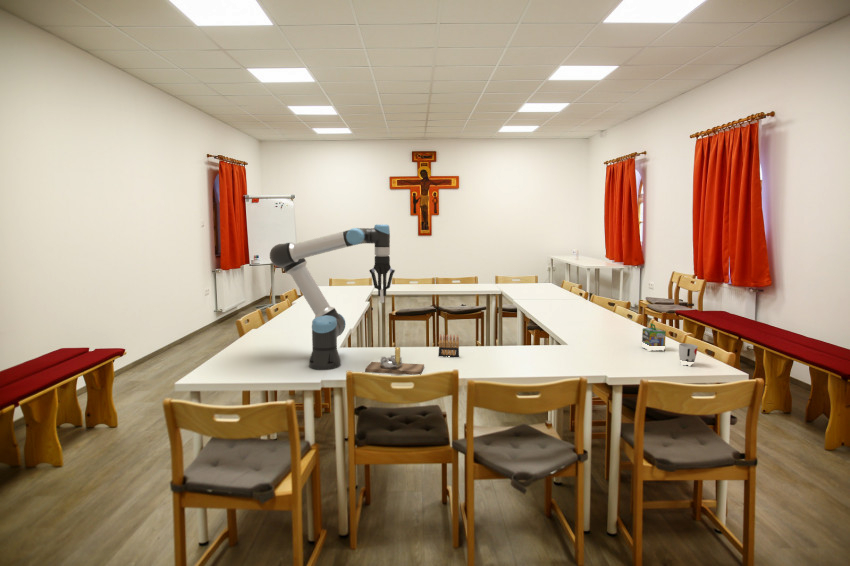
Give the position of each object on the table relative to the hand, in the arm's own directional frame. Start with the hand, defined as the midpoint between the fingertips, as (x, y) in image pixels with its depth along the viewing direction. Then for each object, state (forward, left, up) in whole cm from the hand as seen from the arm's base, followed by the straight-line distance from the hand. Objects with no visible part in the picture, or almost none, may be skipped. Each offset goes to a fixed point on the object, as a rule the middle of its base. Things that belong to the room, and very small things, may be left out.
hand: (382, 302), depth 239 cm
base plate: (+10, -16, -29) cm, 35 cm away
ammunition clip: (+33, +11, -30) cm, 46 cm away
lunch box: (+145, +46, -30) cm, 155 cm away
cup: (+152, +17, -30) cm, 156 cm away
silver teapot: (+9, -18, -28) cm, 34 cm away
